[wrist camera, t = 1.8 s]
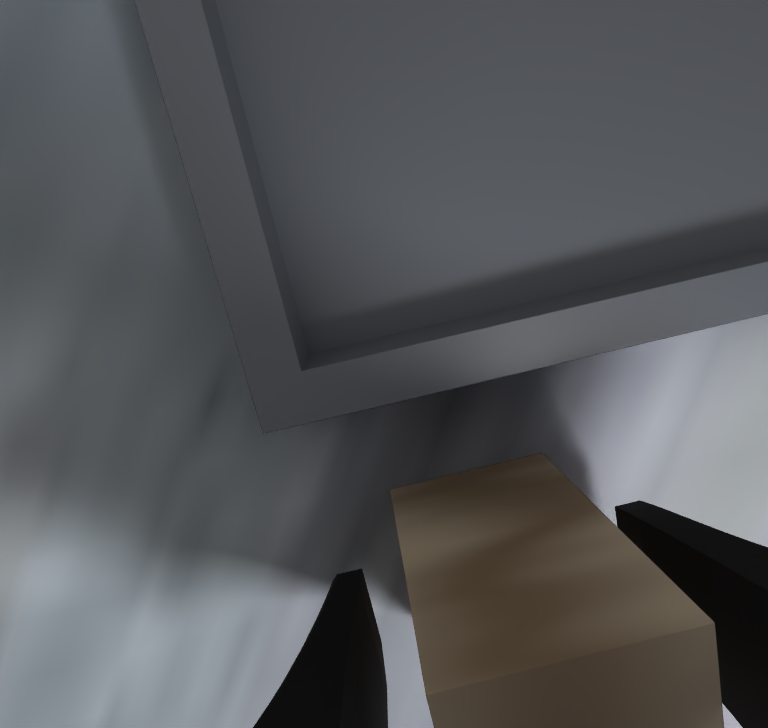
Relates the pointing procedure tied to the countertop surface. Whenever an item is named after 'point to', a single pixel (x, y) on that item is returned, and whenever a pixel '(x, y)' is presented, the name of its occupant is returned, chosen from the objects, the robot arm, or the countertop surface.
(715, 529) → the robot arm
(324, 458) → the countertop surface
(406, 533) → the maple block
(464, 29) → the tray
